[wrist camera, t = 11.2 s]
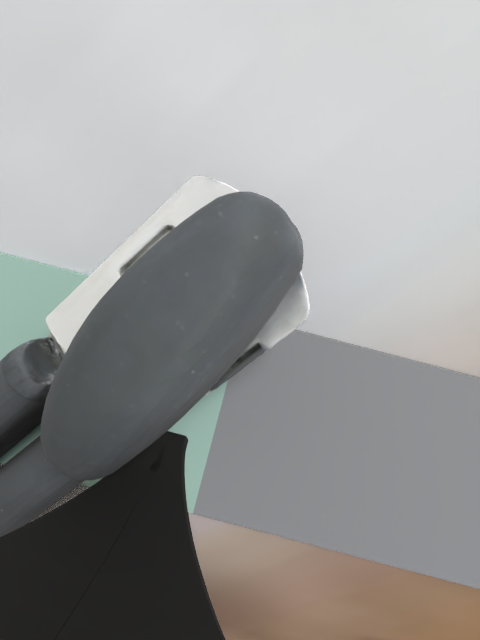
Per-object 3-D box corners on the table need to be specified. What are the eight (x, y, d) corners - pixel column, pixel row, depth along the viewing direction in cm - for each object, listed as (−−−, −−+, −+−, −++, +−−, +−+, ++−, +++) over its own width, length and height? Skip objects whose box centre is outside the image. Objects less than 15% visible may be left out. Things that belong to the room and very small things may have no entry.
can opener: (240, 170, 11) (142, 14, 5) (339, 295, 11) (369, 298, 4) (-89, 471, 15) (-369, 594, 9) (-26, 568, 15) (-272, 766, 9)
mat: (577, 612, 15) (579, 615, 15) (-300, 382, 15) (-304, 383, 15) (707, 437, 12) (711, 438, 12) (-349, 161, 12) (-353, 161, 12)
